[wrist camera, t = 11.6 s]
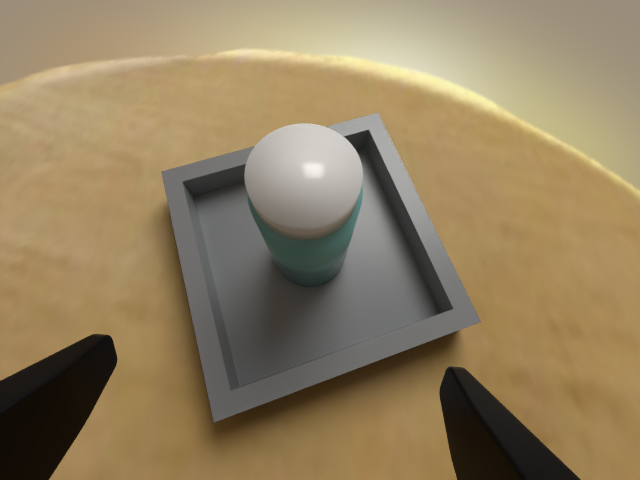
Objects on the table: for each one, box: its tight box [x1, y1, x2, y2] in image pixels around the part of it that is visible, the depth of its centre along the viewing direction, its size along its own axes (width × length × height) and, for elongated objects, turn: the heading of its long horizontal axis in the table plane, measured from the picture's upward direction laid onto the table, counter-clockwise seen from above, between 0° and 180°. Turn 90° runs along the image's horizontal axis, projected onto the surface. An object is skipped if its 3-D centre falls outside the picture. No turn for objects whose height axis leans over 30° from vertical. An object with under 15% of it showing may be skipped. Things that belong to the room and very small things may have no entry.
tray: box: [162, 113, 481, 422], centre depth 22 cm, size 16×16×3 cm
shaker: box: [244, 124, 363, 287], centre depth 17 cm, size 5×5×10 cm
